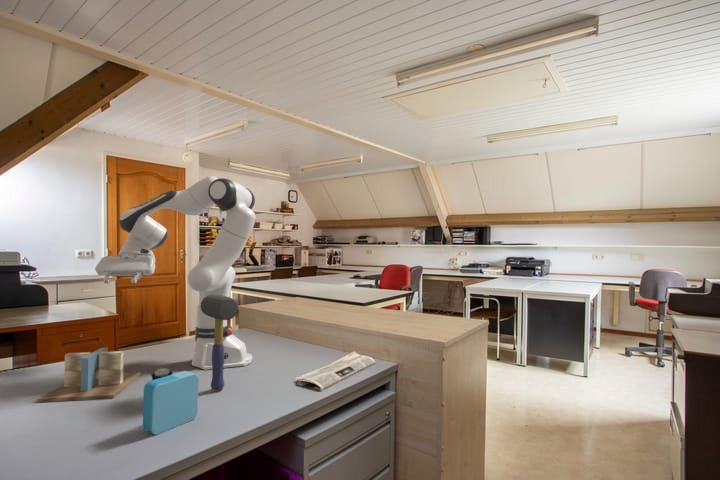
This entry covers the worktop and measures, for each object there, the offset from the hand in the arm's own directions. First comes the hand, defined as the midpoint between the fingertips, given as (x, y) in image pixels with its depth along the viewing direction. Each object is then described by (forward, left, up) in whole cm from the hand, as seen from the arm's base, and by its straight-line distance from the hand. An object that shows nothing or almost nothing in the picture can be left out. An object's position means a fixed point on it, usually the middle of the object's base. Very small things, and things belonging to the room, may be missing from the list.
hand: (119, 282), depth 142 cm
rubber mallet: (-42, +31, -32) cm, 61 cm away
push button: (-29, +41, -32) cm, 60 cm away
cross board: (-3, +23, -31) cm, 39 cm away
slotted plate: (-3, +23, -30) cm, 38 cm away
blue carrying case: (-35, +53, -32) cm, 71 cm away
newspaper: (-82, +20, -32) cm, 90 cm away
